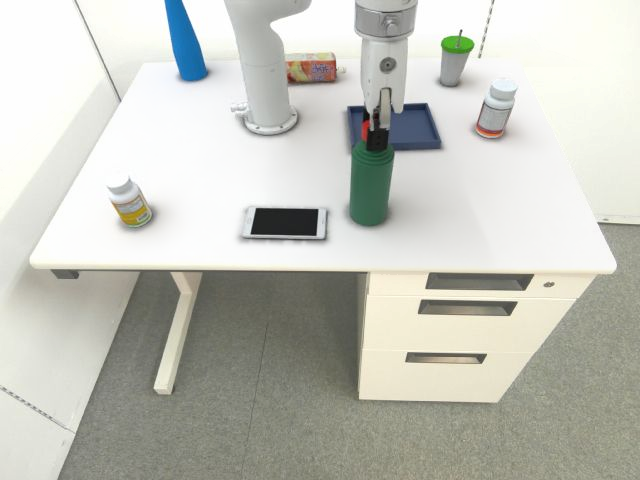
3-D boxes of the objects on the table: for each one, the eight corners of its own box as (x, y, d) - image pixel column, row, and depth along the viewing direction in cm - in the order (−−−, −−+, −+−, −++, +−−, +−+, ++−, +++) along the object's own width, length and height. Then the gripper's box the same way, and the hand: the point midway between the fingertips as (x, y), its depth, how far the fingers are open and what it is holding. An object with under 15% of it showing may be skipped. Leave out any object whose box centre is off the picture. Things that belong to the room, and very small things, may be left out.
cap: (389, 143, 62) (390, 133, 60) (363, 144, 62) (363, 134, 60) (385, 127, 64) (386, 118, 63) (360, 129, 64) (360, 119, 63)
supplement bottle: (127, 208, 79) (105, 170, 71) (154, 206, 79) (135, 168, 71) (120, 229, 75) (97, 191, 68) (149, 226, 75) (129, 188, 68)
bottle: (175, 79, 111) (133, -53, 88) (189, 66, 115) (152, -63, 92) (199, 83, 109) (162, -51, 86) (211, 70, 114) (180, -61, 90)
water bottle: (350, 226, 74) (354, 143, 60) (348, 200, 78) (350, 117, 64) (388, 225, 74) (401, 141, 60) (383, 198, 78) (394, 115, 64)
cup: (445, 71, 109) (458, 12, 97) (470, 82, 105) (486, 21, 94) (427, 82, 106) (438, 22, 94) (452, 93, 102) (467, 32, 90)
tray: (351, 152, 88) (352, 144, 86) (347, 113, 98) (347, 105, 96) (439, 148, 88) (441, 141, 86) (426, 110, 98) (427, 102, 96)
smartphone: (248, 206, 77) (326, 207, 76) (249, 208, 77) (326, 210, 77) (241, 236, 72) (324, 237, 71) (242, 238, 73) (324, 240, 72)
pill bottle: (485, 120, 94) (500, 73, 85) (508, 131, 91) (526, 84, 82) (469, 130, 92) (483, 83, 83) (492, 142, 88) (509, 95, 80)
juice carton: (335, 71, 111) (335, 47, 106) (336, 84, 107) (336, 58, 101) (258, 74, 111) (255, 50, 106) (257, 87, 107) (253, 62, 102)
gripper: (431, 45, 44) (408, 173, 58) (402, -10, 55) (388, 109, 69) (363, 49, 44) (356, 176, 58) (347, -7, 55) (345, 112, 69)
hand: (374, 139), depth 63 cm, fingers closed on cap, 4 cm apart
